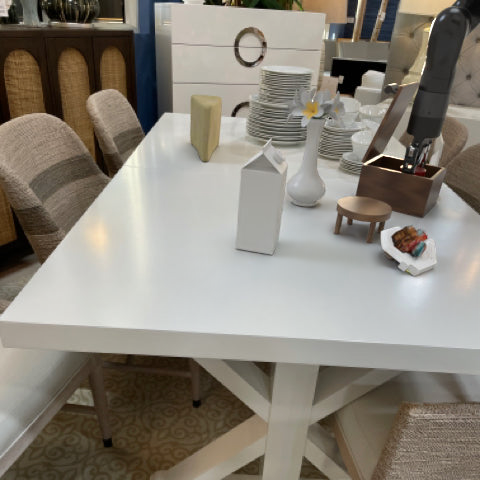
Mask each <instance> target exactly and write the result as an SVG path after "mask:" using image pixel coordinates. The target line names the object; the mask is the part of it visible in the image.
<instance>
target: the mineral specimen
mask: <svg viewBox="0 0 480 480" xmlns="http://www.w3.org/2000/svg"><path fill="white" fill-rule="evenodd" d="M380 245H381V249H382V250H383V253H384V254H385V256H386V258H387V259H388V260H391V259H392V260H393V262H394V263H396V261H397V262H398V263H399V264H398V265H397V267H398V269H400V270H401V271H402V272H408V273H409V274H411V275H412V276H413V277H416V276H418V275H421V274H422V273H425V272H428V271H430V270H433V269H434V267H435V266H436V265H437V264H438V261H437V260H438V259H437V249H436V241H435V240H434V239H432V238H431V237H430V238H429V237H428V234H427V233H426V230H424V229H423V228H418V229H416V227H414V225H413V224H411V225H405V226H404V227H402V228H401V226H399V225H396V226H392V227H390V228H387V229H384V230H383V231H381V233H380Z"/></svg>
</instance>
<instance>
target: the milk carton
mask: <svg viewBox="0 0 480 480" xmlns="http://www.w3.org/2000/svg"><path fill="white" fill-rule="evenodd" d="M272 140H273V138H269V140H268V141H267V142H266V143H265V144H264V145H263V146H262V150H261V151H259V152H258V153H256V154H255V155H253V156H252V157H251V158H249V159H248V161H246V163H245V164H244V165H243V166H242V167H241V168H240V179H239V193H238V207H237V222H236V236H235V249H236V250H242V251H248V252H253V253H254V252H255V253H260V254H266V255H271V256H272V255H273V254H274V252H275V249H276V248H277V245H278V243H279V239H280V233H281V225H282V223H281V222H282V216H283V210H284V209H283V208H284V199H285V193H286V185H287V177H288V168H289V164H288V162H287V161H286V156H285V154H284V153H283V152H281V150H279V149H276V148H275V147H274V145H272Z"/></svg>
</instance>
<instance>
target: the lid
mask: <svg viewBox="0 0 480 480" xmlns="http://www.w3.org/2000/svg"><path fill="white" fill-rule="evenodd" d="M419 83H420V81H414V82H410V83H406V84H402V85H399V84H398V83H391V84H386V85H385V86H384V87H383V88H384V89H383V92H384V93H385V94H387V95H388V94H392V95H394V97H393V98H392V101H391V102H390V104H389V106H388V108H387V109H386V112H385V114H384V115H383V118H382V120H381V122H380V123H379V126H378V127H377V130H376V132H375V133H374V136H373V137H372V140H371V141H370V143H369V145H368V147H367V149H366V151H365V153H364V155H363V157H362V159H361V163H363V164H364V163H366V162H368V161H370V160H372V159H373V158H375V157H377V156H379V155H381V154H382V155H383V153H384V152H385V150H386V148H387V146H388V144H389V142H390V141H391V138H392V137H393V135H394V133H395V131H396V129H397V127H398V126H399V124H400V122H401V120H402V118H403V116H404V115H405V113H406V111H407V108H408V107H409V106H410V103H411V101H412V99H414V97H415V95H416V93H417V91H418V87H419Z"/></svg>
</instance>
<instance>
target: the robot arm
mask: <svg viewBox="0 0 480 480" xmlns="http://www.w3.org/2000/svg"><path fill="white" fill-rule="evenodd" d="M478 26H480V0H456V1H454V2H453V3H452V4H451V6H448V7H446V8H444V9H442V10H441V11H440V12H438V14H437V15H436V16H435V18H434V20H433V21H432V24H431V26H430V31H429V35H428V41H427V47H426V53H425V61H424V65H423V68H422V70H421V71H422V72H421V76H420V78H419V86H418V88H417V90H416V93H415V95H414V98H413V103H412V106H411V110H410V114H409V115H410V116H409V118H408V122H407V127H406V133H407V135H410V136H412V137H413V139H412V141H411V142H410V143H409V145H408V146H406V148H405V152H404V157H403V159H404V162H403V167H402V172H403V173H407V174H412V175H414V174H415V171H416V168H417V166H418V167H422V168H423V167H424V165H425V164H427V160H428V157H429V154H430V150H431V147H432V144H433V142H434V141H433V139H437V138H439V137H440V136H441V134H442V130H443V127H444V124H445V120H446V116H447V113H448V111H449V110H448V109H449V106H450V102H451V101H450V100H451V96H452V91H453V88H454V83H455V80H456V77H457V74H458V73H457V72H458V61H459V59H460V54H461V52H462V48H463V46H464V45H463V44H464V42H465V40H466V39H467V38H468V36H469V35H470V34H471V33H472V32H473V31H474V30H475V29H476V28H477V27H478ZM410 164H411V165H412V166H411V168H408V166H409V165H410Z"/></svg>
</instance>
